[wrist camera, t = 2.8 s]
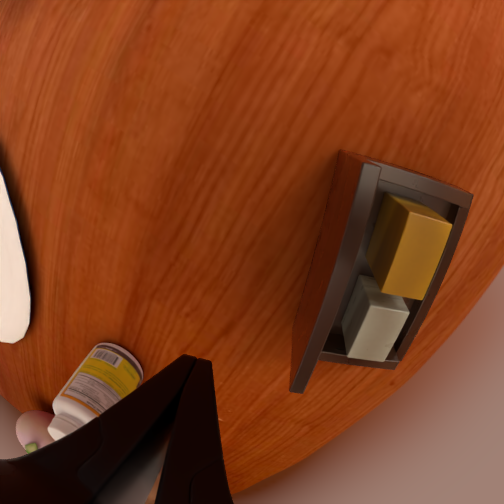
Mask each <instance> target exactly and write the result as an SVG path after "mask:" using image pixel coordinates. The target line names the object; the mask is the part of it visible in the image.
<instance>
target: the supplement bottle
mask: <svg viewBox="0 0 504 504" xmlns="http://www.w3.org/2000/svg"><path fill="white" fill-rule="evenodd" d="M142 380H143V371H142V368H141V366H140V364H139V363H138V361H137V360H136V359H135V358H134V357H133V356H132V355H131V354H130V353H129V352H128V351H126V350H125V349H123V348H122V347H120V346H118V345H115V344H112V343H100V344H97V345H96V346H95V347H94V348H93V349H92V350H91V351H90V353H89V354H88V355H87V357H86V358H85V359H84V360H83V362H82V363H81V364H80V366H79V367H78V368H77V369H76V371H75V372H74V374H73V375H72V376H71V378H70V379H69V380H68V382H67V383H66V384H65V386H64V387H63V388H62V390H61V391H60V392H59V394H58V395H57V396H56V398H55V399H54V401H53V410H54V413H55V417H54V418H53V419H52V422H51V423H50V425H49V426H48V432H49V434H50V435H51V436H52V438H53V439H54V440H55V441H56V440H58V439H60V438H62V437H64V436H66V435H68V434H70V433H72V432H74V431H75V430H77V429H78V428H80V427H82V426H83V425H85V424H86V423H88V422H89V421H91V420H92V419H94V418H95V417H99V415H100V414H101V413H103V412H104V411H105V410H107V409H108V408H110V407H111V406H113V405H114V404H115V403H117V402H118V401H120V400H121V399H123V398H124V397H125V396H127V395H128V394H130V393H131V392H132V391H134V390H135V389H137V388H138V387H139V386H140V385H141V383H142Z"/></svg>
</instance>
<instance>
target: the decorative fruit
mask: <svg viewBox="0 0 504 504" xmlns="http://www.w3.org/2000/svg"><path fill="white" fill-rule="evenodd" d="M54 417H55V415H53V414H51V413H48V412H45V411H40V410H32V411H27V412H25V413H23V414H22V415H21V416H20V417H19V419H18V421H17V424H16V433H17V437H18V440H19V442H20V443H21V444H22V446H23V447H24V448H25V449H26V452H27V453H31V452H33V451H35V450H37V449H39V448H42V447H44V446H46V445H48V444H50V443H52V442H54V441H55V440H54V439H53V438H52V436H51V435H50V434H49V432H48V426H49V425H50V423H51V422H52V419H53V418H54Z"/></svg>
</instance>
